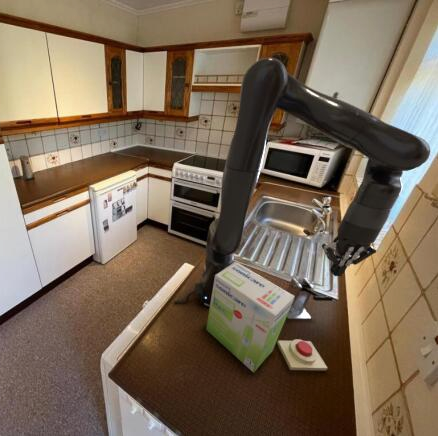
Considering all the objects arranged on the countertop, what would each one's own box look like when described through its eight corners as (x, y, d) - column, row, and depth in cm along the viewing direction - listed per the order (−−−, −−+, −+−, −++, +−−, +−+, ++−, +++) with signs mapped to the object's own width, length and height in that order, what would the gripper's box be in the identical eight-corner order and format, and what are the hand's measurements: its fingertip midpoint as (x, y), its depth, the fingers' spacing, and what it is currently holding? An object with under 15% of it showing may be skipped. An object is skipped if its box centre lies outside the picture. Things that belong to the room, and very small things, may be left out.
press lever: (332, 303, 70) (332, 295, 70) (315, 302, 70) (315, 294, 70) (305, 288, 82) (306, 281, 82) (291, 288, 82) (291, 281, 82)
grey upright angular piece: (310, 320, 82) (324, 294, 75) (287, 320, 82) (299, 293, 75) (294, 298, 90) (306, 272, 84) (273, 297, 90) (283, 272, 84)
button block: (289, 371, 67) (293, 363, 65) (275, 344, 74) (279, 336, 72) (324, 372, 67) (330, 364, 65) (308, 345, 74) (312, 337, 72)
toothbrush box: (203, 329, 78) (214, 273, 66) (223, 314, 84) (237, 259, 72) (252, 375, 66) (276, 316, 54) (271, 353, 71) (297, 295, 60)
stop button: (300, 356, 67) (302, 352, 66) (293, 344, 70) (295, 340, 69) (313, 356, 67) (315, 353, 66) (305, 344, 70) (307, 341, 69)
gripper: (377, 213, 61) (349, 265, 69) (326, 212, 61) (303, 265, 69) (405, 228, 54) (369, 284, 63) (347, 227, 55) (319, 283, 63)
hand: (335, 274), depth 66 cm, fingers closed
